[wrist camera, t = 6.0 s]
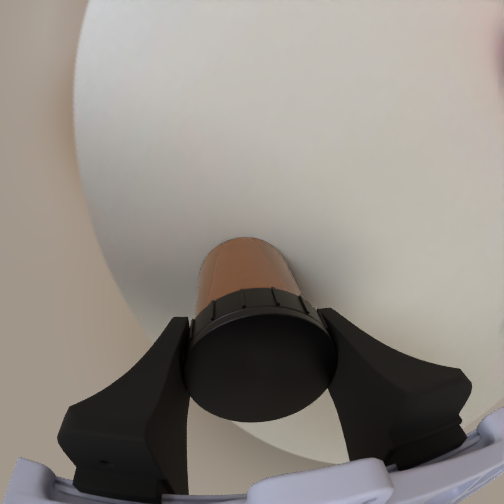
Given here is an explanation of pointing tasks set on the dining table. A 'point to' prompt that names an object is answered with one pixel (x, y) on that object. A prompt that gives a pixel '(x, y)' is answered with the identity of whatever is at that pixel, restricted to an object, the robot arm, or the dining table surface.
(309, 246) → the dining table surface
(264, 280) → the jar
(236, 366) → the jar lid
